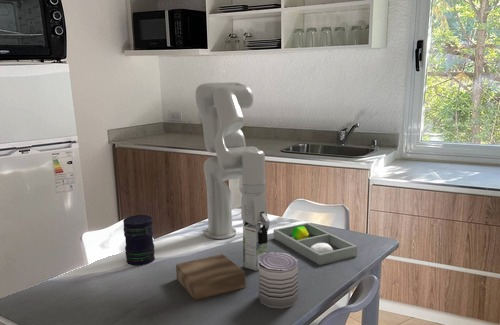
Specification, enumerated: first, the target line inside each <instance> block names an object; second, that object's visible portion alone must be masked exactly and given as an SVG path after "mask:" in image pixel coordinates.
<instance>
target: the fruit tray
mask: <svg viewBox="0 0 500 325" xmlns="http://www.w3.org/2000/svg"><path fill="white" fill-rule="evenodd" d="M301 226H304V227H305V228H306V230H307V232H308V233H309V235H312V237H310V236H309V237H310V238H306V239H301V240H295V239H294V237H292V236H293V235H292V232H293V229H294V228H296V227H301ZM290 236H291V237H290ZM273 239H274V240H276V241H277V242H279V243H282V244H283V245H285V246H286V247H288V248H290V249H292V250H293V251H295V252H297V253H298V254H300V255H302V256H303V257H305V258H307V259H308V260H310V261H312V262H314V263H315V264H317V265H318V266H322V265H326V264H330V263H333V262H334V263H335V262H337V261H341V260H346V259H349V258H350V259H351V258H354V257H357V256H358V245H355V244H353V243H352V242H349V241H348V240H345V239H343V238H341V237H339V236H337V235H335V234H334V233H333V234H332V233H331V232H328V231H327V230H324V229H322V228H320V227H317V226H315V225H313V224H311V223H309V222H305V223H304V222H303V223H299V224H294V225H290V226H283V227H280V228H274V229H273ZM317 243H327V244H329V245H330V246H331V245H332V246H333V247H335V248H338V249H333V251H330V252H325V253H321V254H320V253H318V252H317V251H315V250H313V249H311V246H313V245H314V244H317Z"/></svg>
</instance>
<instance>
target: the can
mask: <svg viewBox="0 0 500 325" xmlns="http://www.w3.org/2000/svg"><path fill="white" fill-rule="evenodd" d="M258 263H259V270H258V300H259V302H260V304H262V305H264V306H265V307H268V308H269V309H281V310H283V309H285V308H289V307H294V305H296V303H297V302H298V301H299V259H297V258H296V257H294V256H293V255H291V254H289V253H284V252H276V251H270V252H267V253H266V254H262V255H259V259H258Z"/></svg>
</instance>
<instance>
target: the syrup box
mask: <svg viewBox="0 0 500 325" xmlns="http://www.w3.org/2000/svg"><path fill="white" fill-rule="evenodd" d="M260 226H261V228H262V226H263V225H260ZM258 232H259V230H258V227H257V225H256V226H253V225H251V224H247V225H245V226H244V225H243V227H242V258H243V260H242V262H243V263H242V265H243V268H246V269H249V270H252V271H256V272H257V271H259V263H258V259H259V255H262V254H266V253H268V249H267V248H268V246H267V245H268V242H267V243H265V244H258Z"/></svg>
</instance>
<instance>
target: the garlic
mask: <svg viewBox="0 0 500 325" xmlns="http://www.w3.org/2000/svg"><path fill="white" fill-rule="evenodd" d="M311 249H313V250H315V251H317V252H318V253H320V254H321V253H325V252H330V251H334V249H333V247H332V246H331V244H330V243H328V244H327V243H317V244H314V245H313V246H311Z"/></svg>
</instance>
